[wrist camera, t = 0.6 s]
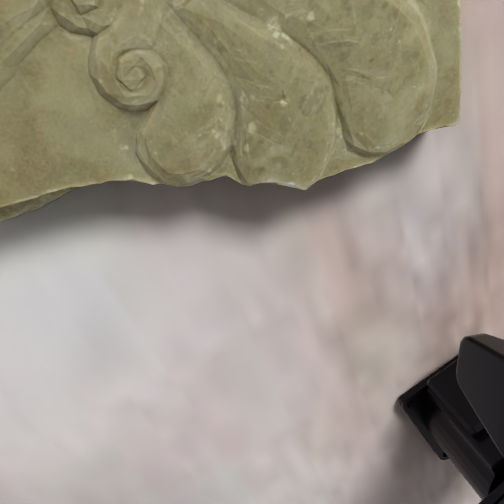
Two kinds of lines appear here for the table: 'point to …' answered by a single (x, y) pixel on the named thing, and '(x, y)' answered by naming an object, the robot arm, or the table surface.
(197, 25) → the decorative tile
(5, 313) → the table surface
